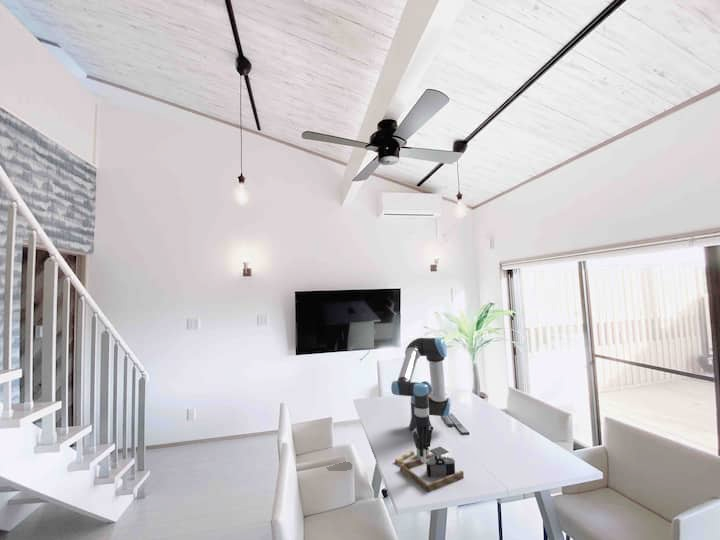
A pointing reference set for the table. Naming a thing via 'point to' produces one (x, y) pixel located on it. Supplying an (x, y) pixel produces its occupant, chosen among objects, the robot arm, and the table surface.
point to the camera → (440, 466)
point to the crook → (404, 458)
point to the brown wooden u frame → (424, 485)
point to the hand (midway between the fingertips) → (423, 462)
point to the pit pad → (438, 450)
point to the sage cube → (419, 453)
